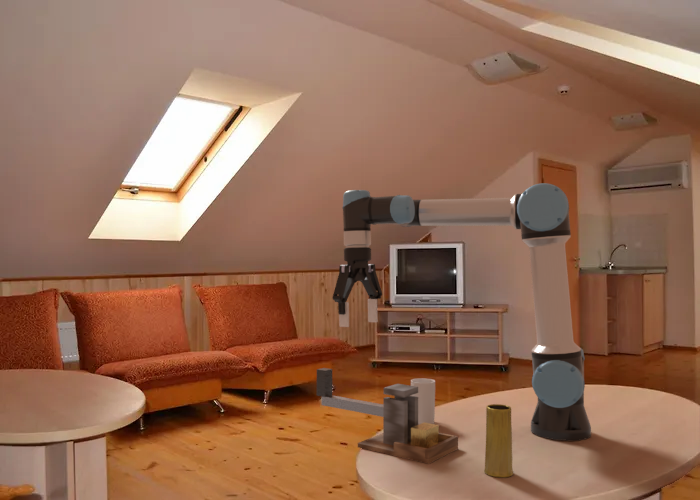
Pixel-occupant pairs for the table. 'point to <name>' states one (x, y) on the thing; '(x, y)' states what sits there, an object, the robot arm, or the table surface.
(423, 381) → the mug
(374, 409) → the grey l-shaped bar
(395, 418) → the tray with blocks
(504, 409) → the vase
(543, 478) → the table surface
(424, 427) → the spacer
